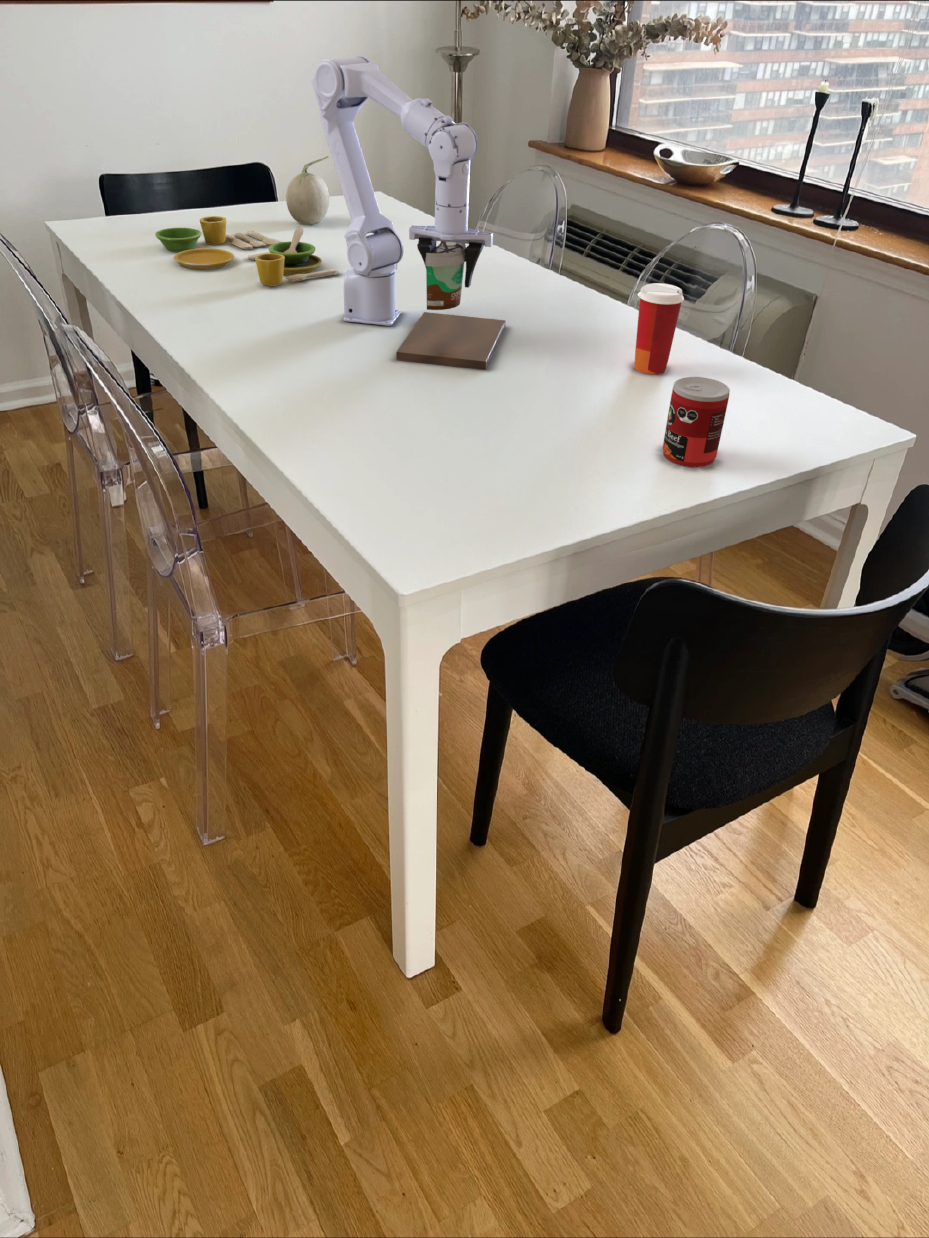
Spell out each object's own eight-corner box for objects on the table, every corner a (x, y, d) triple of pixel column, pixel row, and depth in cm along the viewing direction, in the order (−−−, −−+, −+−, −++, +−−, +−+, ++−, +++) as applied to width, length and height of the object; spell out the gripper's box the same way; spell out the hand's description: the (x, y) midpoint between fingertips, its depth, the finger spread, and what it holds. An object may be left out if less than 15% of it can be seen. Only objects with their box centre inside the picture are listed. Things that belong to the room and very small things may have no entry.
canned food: (656, 445, 148) (667, 376, 142) (707, 445, 149) (721, 376, 143) (668, 468, 142) (681, 397, 136) (722, 468, 143) (737, 397, 137)
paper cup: (674, 364, 176) (688, 286, 168) (667, 379, 170) (681, 299, 162) (632, 357, 178) (643, 279, 170) (623, 372, 172) (634, 292, 164)
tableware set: (345, 276, 210) (345, 246, 206) (227, 297, 196) (224, 265, 192) (254, 231, 236) (252, 203, 232) (144, 247, 222) (139, 218, 218)
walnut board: (396, 360, 172) (396, 351, 172) (424, 319, 190) (424, 312, 189) (485, 370, 170) (486, 361, 169) (505, 328, 188) (505, 320, 187)
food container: (458, 316, 172) (460, 257, 166) (424, 312, 172) (425, 253, 167) (472, 294, 181) (475, 238, 176) (440, 291, 182) (441, 235, 176)
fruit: (281, 228, 240) (276, 161, 231) (295, 216, 249) (291, 152, 240) (322, 231, 238) (319, 165, 230) (335, 220, 248) (332, 155, 239)
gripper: (404, 205, 165) (404, 286, 173) (489, 212, 163) (485, 294, 171) (414, 196, 170) (414, 275, 178) (496, 203, 168) (492, 283, 176)
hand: (449, 284), depth 175 cm, fingers closed on food container, 6 cm apart
